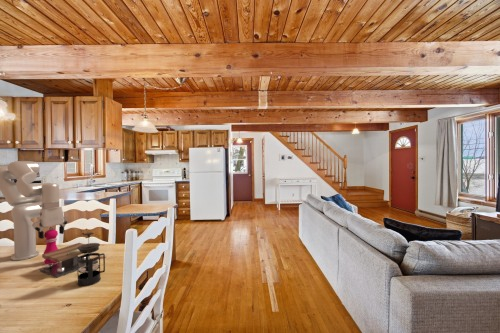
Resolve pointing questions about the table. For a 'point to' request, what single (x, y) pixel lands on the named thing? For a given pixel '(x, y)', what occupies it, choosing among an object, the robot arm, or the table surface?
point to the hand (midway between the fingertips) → (51, 235)
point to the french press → (89, 264)
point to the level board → (63, 253)
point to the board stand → (64, 267)
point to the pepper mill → (50, 243)
